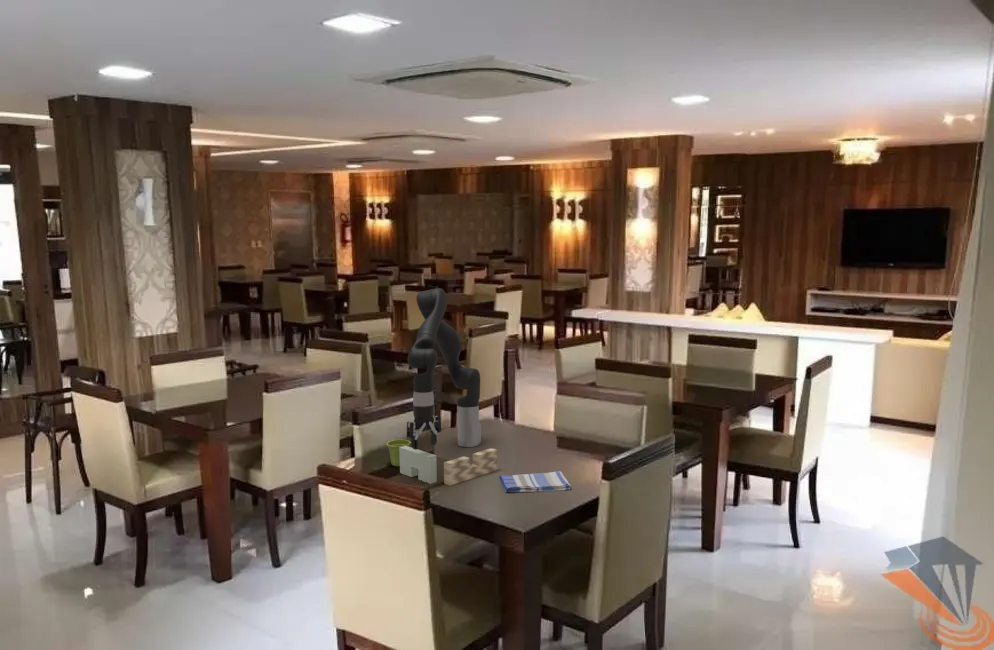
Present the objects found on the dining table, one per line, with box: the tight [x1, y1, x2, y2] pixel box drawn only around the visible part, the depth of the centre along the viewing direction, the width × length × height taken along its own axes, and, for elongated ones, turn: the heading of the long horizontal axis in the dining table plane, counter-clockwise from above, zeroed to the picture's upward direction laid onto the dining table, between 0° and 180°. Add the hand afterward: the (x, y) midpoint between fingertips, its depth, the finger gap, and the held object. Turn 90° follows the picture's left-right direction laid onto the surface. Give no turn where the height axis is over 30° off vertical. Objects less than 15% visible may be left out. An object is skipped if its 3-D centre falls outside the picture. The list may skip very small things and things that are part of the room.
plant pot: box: [386, 439, 412, 467], centre depth 287 cm, size 9×9×9 cm
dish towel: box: [498, 470, 572, 494], centre depth 262 cm, size 17×24×3 cm
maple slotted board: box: [443, 448, 498, 486], centre depth 270 cm, size 24×3×8 cm, turn 135°
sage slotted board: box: [399, 446, 438, 485], centre depth 270 cm, size 3×18×10 cm, turn 45°
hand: (424, 446), depth 266 cm, fingers open, 8 cm apart
